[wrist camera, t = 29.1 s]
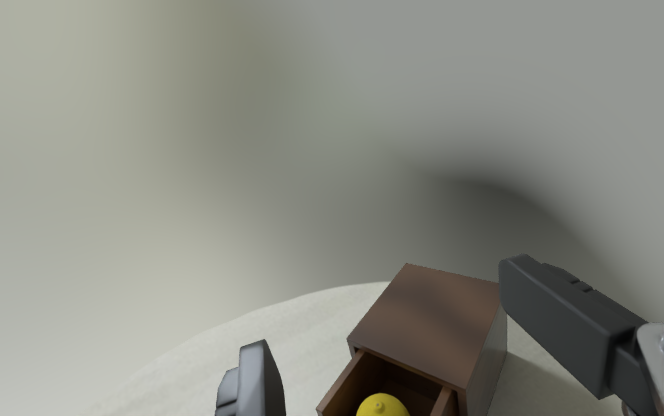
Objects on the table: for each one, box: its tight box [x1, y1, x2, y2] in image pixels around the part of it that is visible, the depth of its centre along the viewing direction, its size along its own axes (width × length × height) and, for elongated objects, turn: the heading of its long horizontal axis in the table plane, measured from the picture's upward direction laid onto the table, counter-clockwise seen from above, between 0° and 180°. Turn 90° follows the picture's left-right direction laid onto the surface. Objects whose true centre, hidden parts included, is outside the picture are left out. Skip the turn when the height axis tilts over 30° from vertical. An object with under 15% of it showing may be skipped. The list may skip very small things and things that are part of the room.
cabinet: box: [347, 263, 507, 416], centre depth 39 cm, size 15×13×11 cm
